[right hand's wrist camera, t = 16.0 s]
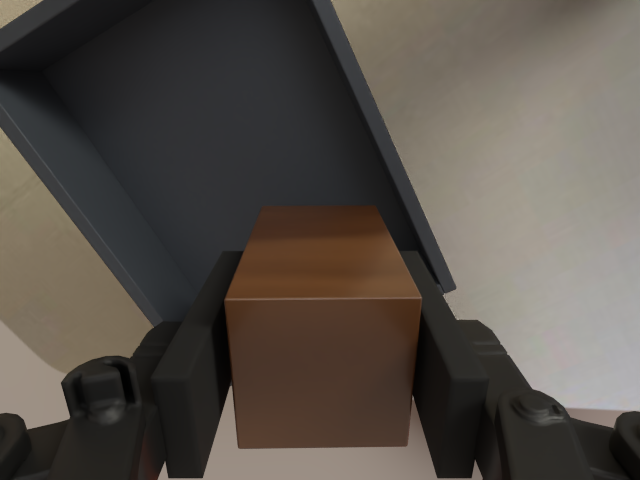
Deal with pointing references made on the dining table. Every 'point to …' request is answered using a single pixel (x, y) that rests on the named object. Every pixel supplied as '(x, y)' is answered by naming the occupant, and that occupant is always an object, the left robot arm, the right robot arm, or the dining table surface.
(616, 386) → the dining table surface
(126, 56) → the grey tray
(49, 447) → the right robot arm
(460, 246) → the dining table surface
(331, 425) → the walnut block
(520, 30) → the dining table surface
